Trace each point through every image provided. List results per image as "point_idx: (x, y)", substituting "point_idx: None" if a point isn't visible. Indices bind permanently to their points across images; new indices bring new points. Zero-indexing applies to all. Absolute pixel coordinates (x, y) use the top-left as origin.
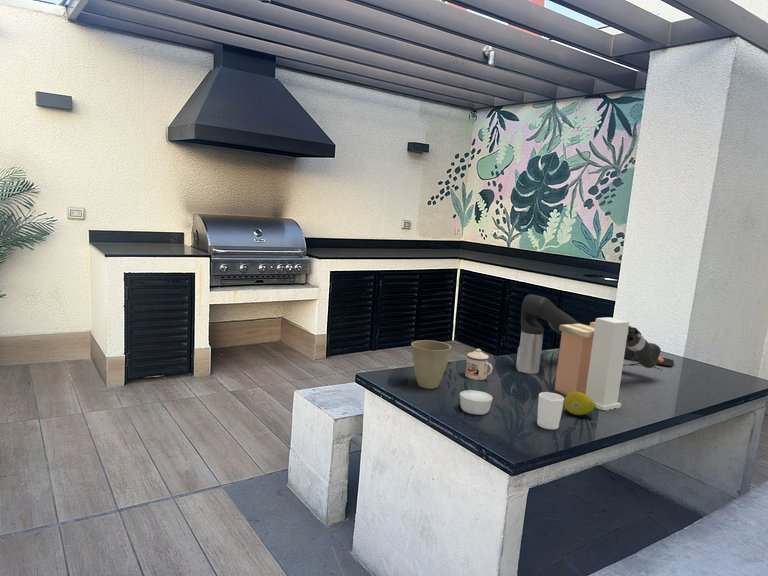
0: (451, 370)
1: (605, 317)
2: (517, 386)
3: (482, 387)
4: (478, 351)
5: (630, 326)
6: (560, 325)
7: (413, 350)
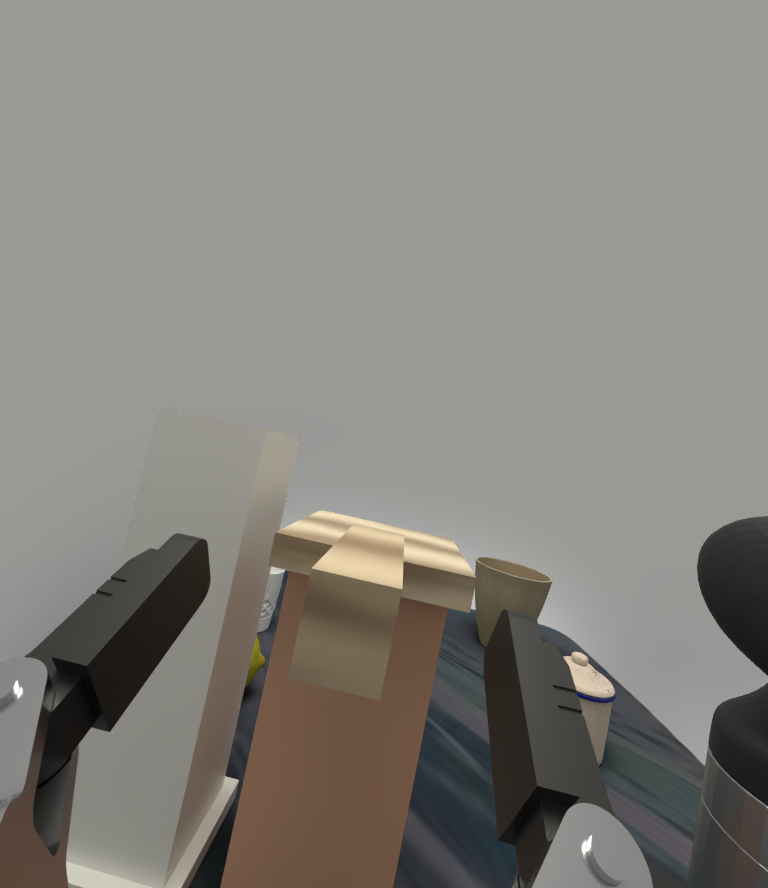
0: (624, 739)
1: (510, 611)
2: (460, 764)
3: (471, 694)
4: (571, 656)
5: (8, 664)
6: (446, 538)
7: (507, 569)
